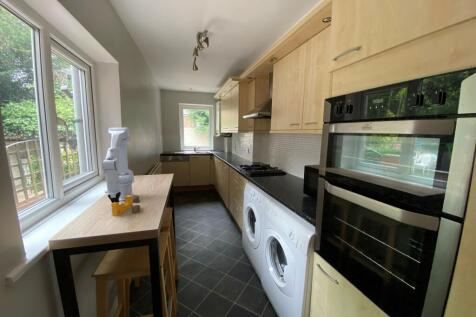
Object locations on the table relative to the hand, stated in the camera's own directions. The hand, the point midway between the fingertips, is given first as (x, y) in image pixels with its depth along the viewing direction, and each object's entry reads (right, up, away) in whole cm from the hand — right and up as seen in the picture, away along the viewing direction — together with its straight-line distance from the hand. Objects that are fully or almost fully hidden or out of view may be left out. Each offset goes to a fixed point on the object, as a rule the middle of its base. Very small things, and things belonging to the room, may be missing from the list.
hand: (116, 206), depth 101 cm
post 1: (+4, 0, +12) cm, 12 cm away
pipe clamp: (+3, -2, 0) cm, 4 cm away
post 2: (+12, -2, -2) cm, 12 cm away
